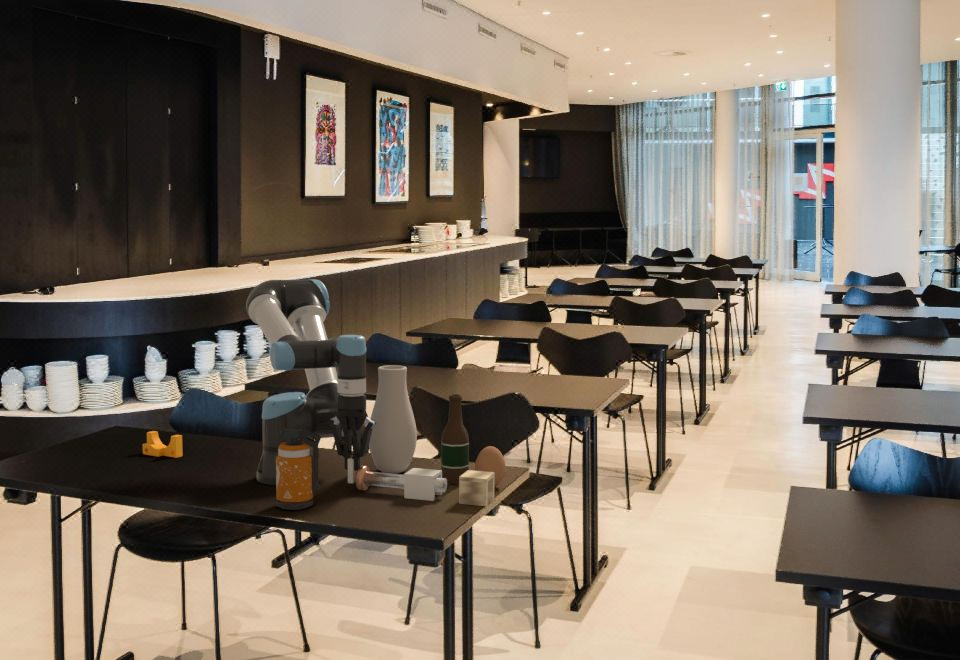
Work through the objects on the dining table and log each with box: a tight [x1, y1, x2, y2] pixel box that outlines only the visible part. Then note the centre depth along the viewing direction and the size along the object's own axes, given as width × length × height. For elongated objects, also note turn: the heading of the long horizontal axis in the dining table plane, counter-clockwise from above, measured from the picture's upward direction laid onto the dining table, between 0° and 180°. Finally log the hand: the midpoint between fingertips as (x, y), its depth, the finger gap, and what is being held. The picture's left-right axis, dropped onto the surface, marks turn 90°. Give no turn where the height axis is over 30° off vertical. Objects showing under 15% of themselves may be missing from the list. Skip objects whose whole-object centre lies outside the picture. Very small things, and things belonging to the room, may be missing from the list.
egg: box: [474, 445, 507, 488], centre depth 279 cm, size 8×8×11 cm
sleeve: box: [403, 467, 443, 502], centre depth 270 cm, size 8×7×6 cm
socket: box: [458, 469, 495, 507], centre depth 265 cm, size 7×7×7 cm
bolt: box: [355, 465, 448, 493], centre depth 271 cm, size 24×6×6 cm, turn 73°
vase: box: [368, 364, 418, 474], centre depth 293 cm, size 14×14×30 cm
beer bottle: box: [440, 393, 470, 485], centre depth 284 cm, size 8×8×24 cm
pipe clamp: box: [142, 430, 183, 459], centre depth 312 cm, size 12×4×6 cm, turn 61°
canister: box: [275, 427, 322, 511], centre depth 258 cm, size 9×11×20 cm
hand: (352, 481), depth 275 cm, fingers closed
